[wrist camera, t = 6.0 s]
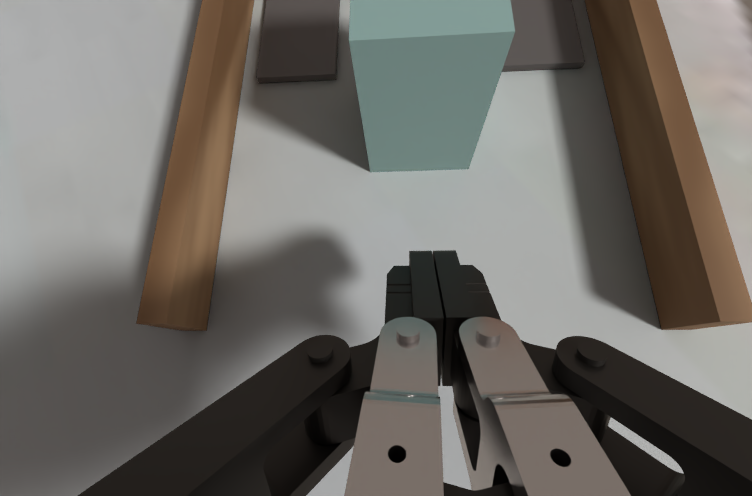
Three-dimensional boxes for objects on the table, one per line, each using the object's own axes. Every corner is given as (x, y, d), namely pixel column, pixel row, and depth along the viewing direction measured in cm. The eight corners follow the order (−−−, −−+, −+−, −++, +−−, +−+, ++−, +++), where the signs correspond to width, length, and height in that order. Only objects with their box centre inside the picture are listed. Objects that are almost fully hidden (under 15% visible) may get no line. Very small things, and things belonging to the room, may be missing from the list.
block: (370, 172, 19) (348, 41, 11) (371, 78, 21) (353, -89, 13) (468, 169, 18) (515, 31, 11) (460, 74, 20) (495, -101, 13)
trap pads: (258, 82, 21) (256, 77, 21) (271, -18, 23) (269, -25, 23) (581, 67, 20) (584, 61, 19) (558, -37, 22) (561, -44, 22)
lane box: (181, 330, 17) (67, 312, 11) (251, -92, 26) (208, -221, 20) (691, 329, 15) (863, 308, 10) (576, -117, 24) (629, -264, 19)
